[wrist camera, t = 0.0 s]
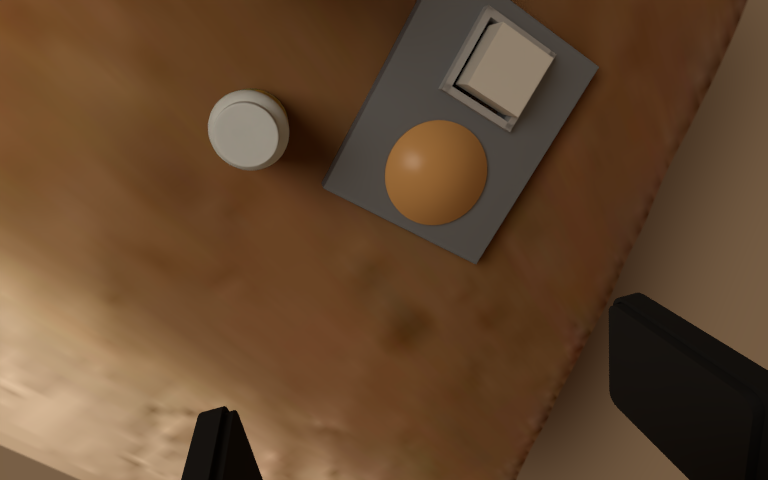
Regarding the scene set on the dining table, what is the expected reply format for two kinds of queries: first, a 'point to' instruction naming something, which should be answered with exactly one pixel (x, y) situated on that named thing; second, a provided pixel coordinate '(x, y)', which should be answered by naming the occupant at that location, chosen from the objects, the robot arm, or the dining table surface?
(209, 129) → the supplement bottle
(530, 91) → the button
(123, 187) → the dining table surface
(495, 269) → the dining table surface
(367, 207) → the grey flat rectangular block
